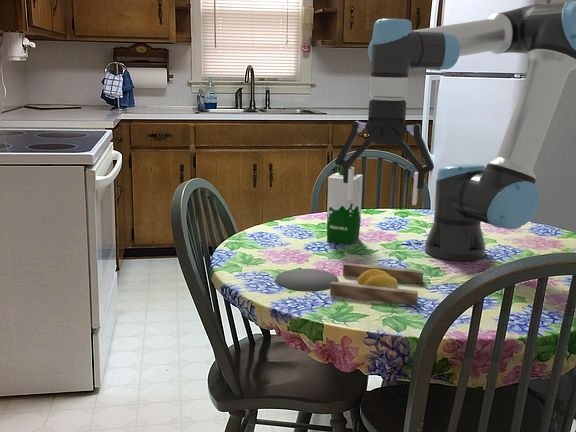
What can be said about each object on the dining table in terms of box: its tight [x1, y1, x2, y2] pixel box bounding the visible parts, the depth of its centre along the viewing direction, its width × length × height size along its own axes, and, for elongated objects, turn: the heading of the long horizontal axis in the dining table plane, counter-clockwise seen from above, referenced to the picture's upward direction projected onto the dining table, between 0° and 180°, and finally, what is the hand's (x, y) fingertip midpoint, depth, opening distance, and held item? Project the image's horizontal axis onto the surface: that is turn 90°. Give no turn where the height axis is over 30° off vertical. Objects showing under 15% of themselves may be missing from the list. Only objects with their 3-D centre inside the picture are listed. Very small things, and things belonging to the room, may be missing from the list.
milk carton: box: [326, 165, 363, 245], centre depth 173 cm, size 9×9×20 cm
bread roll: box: [357, 269, 399, 289], centre depth 138 cm, size 8×9×4 cm
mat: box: [275, 268, 339, 292], centre depth 143 cm, size 14×14×1 cm
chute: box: [329, 262, 425, 306], centre depth 138 cm, size 18×15×2 cm
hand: (381, 201), depth 134 cm, fingers open, 13 cm apart
